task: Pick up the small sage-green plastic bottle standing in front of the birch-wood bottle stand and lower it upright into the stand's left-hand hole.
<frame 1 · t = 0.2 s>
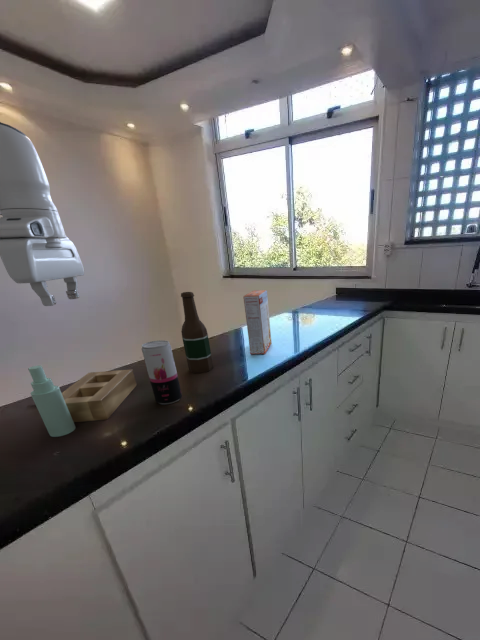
hand: (63, 302, 67), 26 cm above the table, tool pointing down, fingers open, 8 cm apart
bottle stand: (100, 402, 81), on the table
beer bottle: (201, 369, 102), on the table
beverage can: (169, 400, 81), on the table
bottle: (62, 431, 69), on the table
cracker box: (261, 349, 120), on the table
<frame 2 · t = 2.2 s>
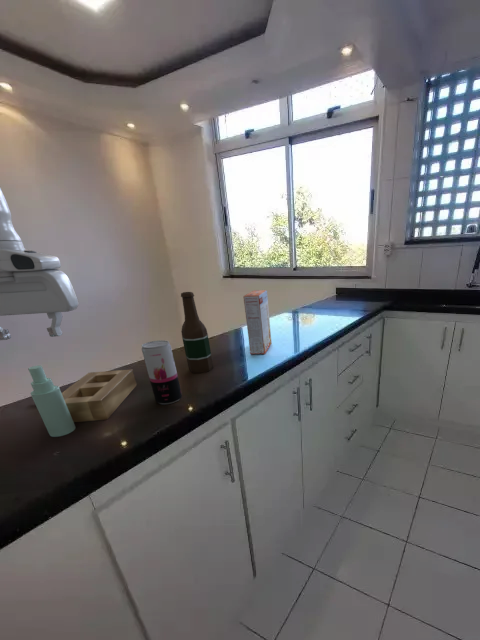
hand: (30, 337, 61), 21 cm above the table, tool pointing down, fingers open, 8 cm apart
nothing on the table moved.
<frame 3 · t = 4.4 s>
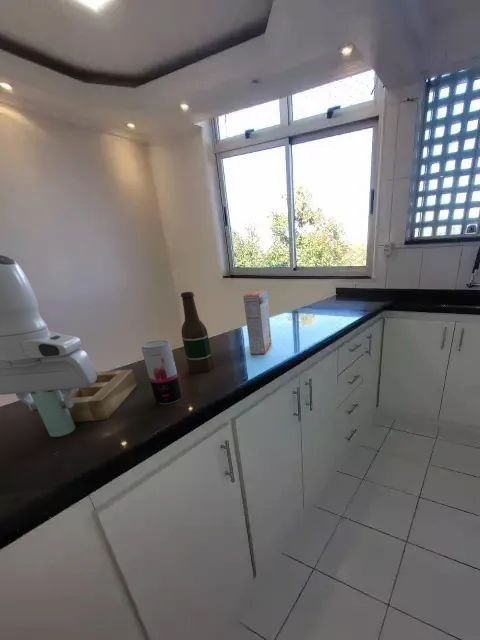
hand: (53, 408, 66), 6 cm above the table, tool pointing down, fingers closed on bottle, 5 cm apart
bottle: (62, 431, 69), on the table, touching gripper
everything else where it was.
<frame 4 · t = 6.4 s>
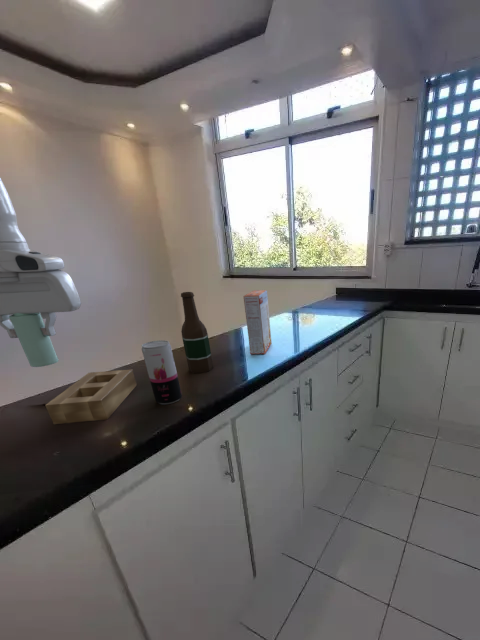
hand: (34, 336, 62), 20 cm above the table, tool pointing down, fingers closed on bottle, 5 cm apart
bottle: (45, 363, 65), point 15 cm above the table, touching gripper
everything else where it was.
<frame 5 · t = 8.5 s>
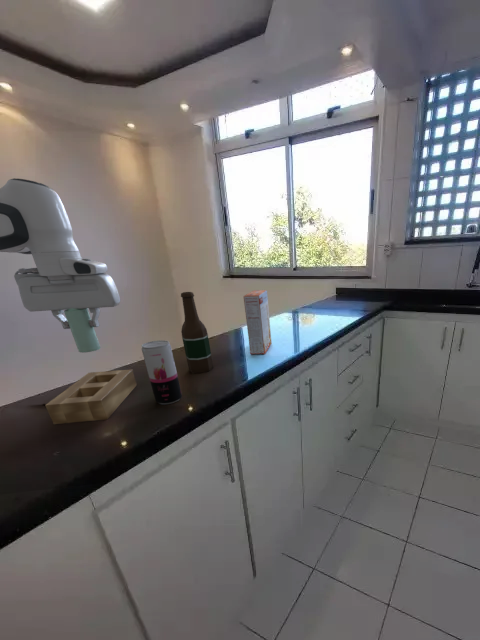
hand: (82, 327, 76), 19 cm above the table, tool pointing down, fingers closed on bottle, 5 cm apart
bottle: (89, 349, 79), point 13 cm above the table, touching gripper
everything else where it was.
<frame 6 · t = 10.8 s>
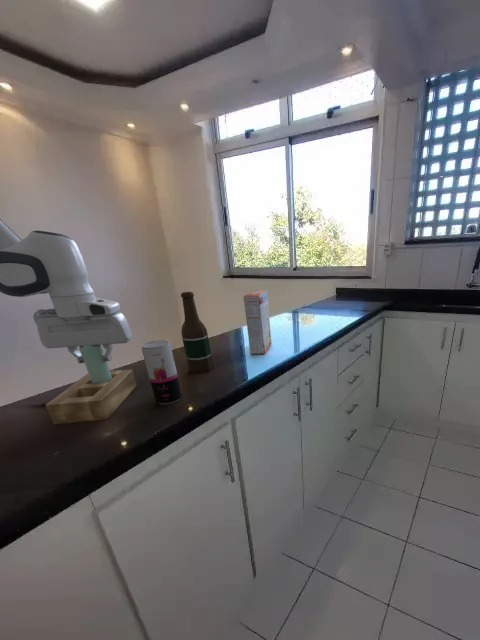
hand: (95, 361, 81), 10 cm above the table, tool pointing down, fingers closed on bottle, 5 cm apart
bottle: (102, 381, 83), point 4 cm above the table, touching gripper
everything else where it was.
when the fingers open (5 cm above the table, at t = 12.5 s): bottle stays where it is, resting in bottle stand.
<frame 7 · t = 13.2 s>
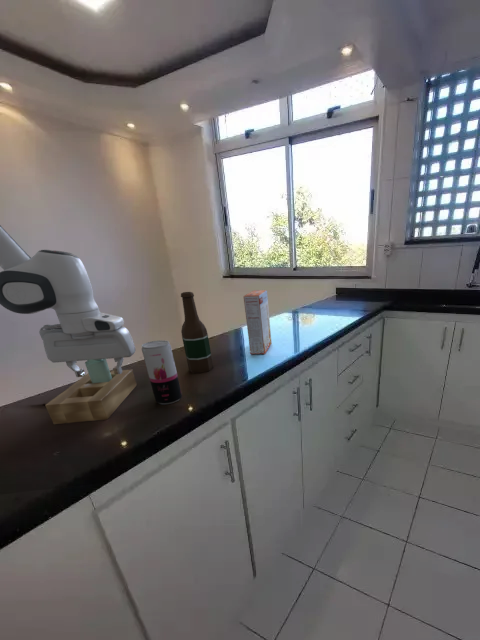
hand: (100, 374, 82), 6 cm above the table, tool pointing down, fingers open, 8 cm apart
bottle: (107, 395, 85), resting in bottle stand
everything else where it was.
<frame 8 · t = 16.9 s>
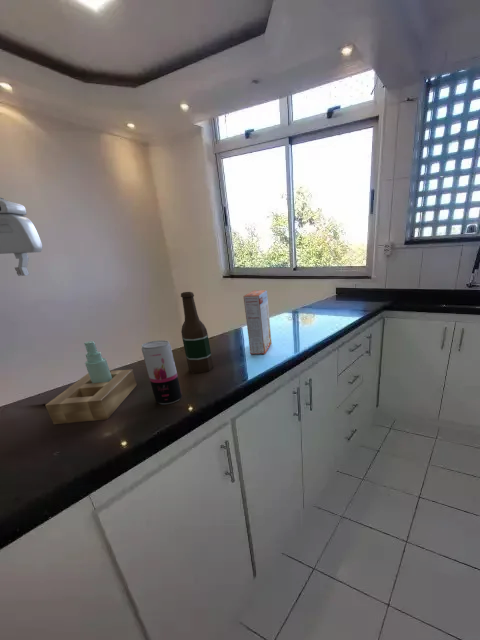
hand: (1, 276, 70), 31 cm above the table, tool pointing down, fingers open, 8 cm apart
nothing on the table moved.
at the end: bottle 0.0 cm from the target spot in the bottle stand, point 0.0 cm above the bottle stand's base; bottle tilted 0°; the gripper is holding nothing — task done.
